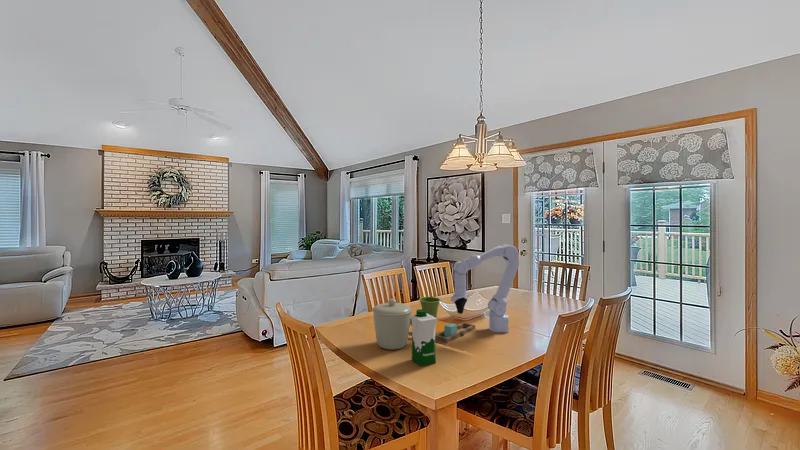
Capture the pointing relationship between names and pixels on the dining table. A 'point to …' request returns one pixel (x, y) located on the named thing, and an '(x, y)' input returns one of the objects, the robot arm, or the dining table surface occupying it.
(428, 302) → the plant pot
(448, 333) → the teal block
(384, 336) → the canister
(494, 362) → the dining table surface
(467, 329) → the wooden tray
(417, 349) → the milk carton
